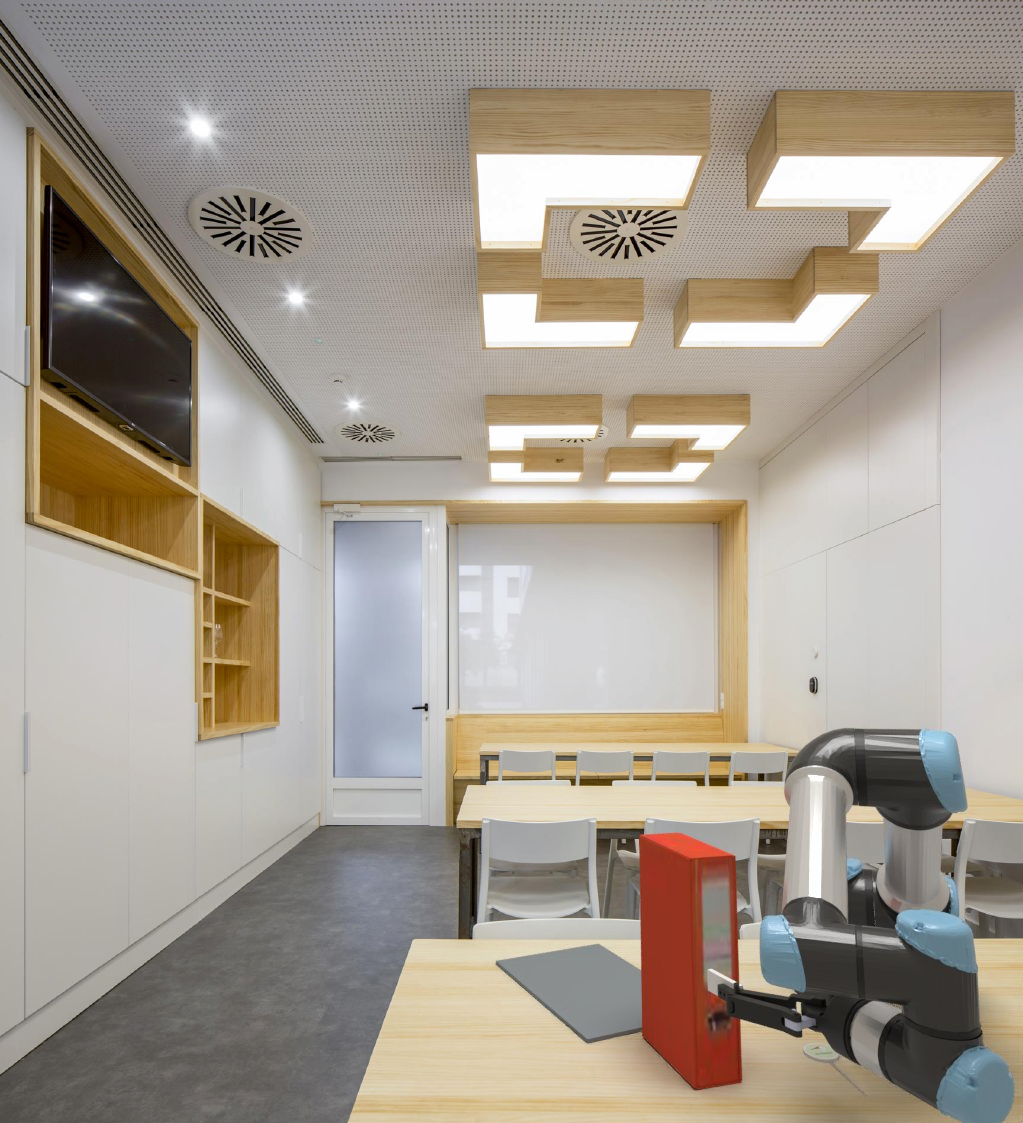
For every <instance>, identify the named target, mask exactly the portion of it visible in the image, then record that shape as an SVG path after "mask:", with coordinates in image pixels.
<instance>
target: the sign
mask: <svg viewBox="0 0 1023 1123" xmlns="http://www.w3.org/2000/svg"><path fill="white" fill-rule="evenodd" d="M802 1050H803V1054H804V1056H805V1057H807V1058H808V1059H810V1060H813V1061H815V1062H820V1063H829V1064H830V1065H831V1066H832V1067H833V1069H835V1070H836V1071H837V1072H839V1073H840V1074H841V1075H842V1076H843V1077H844V1078H845V1079H846V1080H847V1081H848V1082H849V1083H850V1084H852V1085H853V1086H854V1087H855V1088H856V1089H857V1090H858V1091H859V1092H860V1093H861V1094H862V1095H864V1097H867V1096H868V1095H867V1094H866V1093H865V1092H864V1091H863V1090H861V1088H859V1086H857V1085H856V1083H854V1082H853V1081H852V1080H851V1079H850V1078H849V1077H848V1076H847V1075H846V1074H845V1073H844V1072H843V1071H842V1070H841V1069H840V1068H838V1066H837V1065H836V1064H835V1063H834V1062H837V1061H838V1060H839V1059H840V1054H838V1053H836V1052H835V1051H834V1050H833V1049H832V1048H831V1046H830V1045H829V1044H827V1043H821V1042H812V1043H811V1042H810V1043H807V1044H805V1045H804V1046H803V1048H802Z"/></svg>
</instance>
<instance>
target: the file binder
mask: <svg viewBox="0 0 1023 1123" xmlns="http://www.w3.org/2000/svg"><path fill="white" fill-rule="evenodd" d="M638 839H639V841H638V850H639V855H638V856H639V910H640V911H639V915H640V918H639V919H640V920H639V921H640V970H641V991H642V1031H641V1036H642V1037H643V1038H644V1040H646V1041H647V1042H648V1043H649V1044H650V1045H651V1046H652V1047H653V1048H654V1049H655V1051H657V1052H658V1053H659V1054H660V1055H661V1056H662V1057H663V1058H664V1060H666V1061H667V1062H668V1063H669V1064H670V1066H672V1067H673V1069H675V1070H676V1072H678V1073H679V1075H680V1076H681V1077H683V1079H684V1080H685V1081H686V1082H687V1083H688V1084H690V1086H691V1087H692V1088H693V1089H696V1090H697V1091H698V1090H703V1089H710V1088H711V1089H712V1088H716V1087H721V1086H722V1087H723V1086H728V1085H736V1084H742V1081H743V1068H742V1067H743V1066H742V1064H743V1063H742V1062H743V1061H742V1058H743V1057H742V1032H741V1031H742V1030H741V1029H742V1027H741V1019H738V1018H734V1017H731V1016H728V1015H727V1013H726V1001H724V1000H723V999H721V998H719V997H718V996H717V995H715V994H713V993H712V992H710V991H708V978H707V970H708V969H713V970H715V971H717V972H719V973H721V974H722V975H724V976H726V977H728V978H730V979H732V980H734V981H736V982H739V983H740V967H739V966H740V961H739V956H740V955H739V932H738V931H739V928H738V926H739V925H738V924H739V923H738V922H739V921H738V897H737V896H738V893H737V860H736V858H737V855H735V854H732V853H730V852H727V851H725V850H723V849H720V848H718V847H716V846H713V845H710V844H708V843H706V842H704V841H701V840H698V839H697V838H694V837H691V836H689V835H686V834H685V833H682V832H666V833H665V832H663V833H662V832H661V833H649V834H646V833H645V834H639V836H638Z"/></svg>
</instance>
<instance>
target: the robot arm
mask: <svg viewBox="0 0 1023 1123" xmlns="http://www.w3.org/2000/svg"><path fill="white" fill-rule="evenodd" d="M961 762H962V761H961V756H960V748H959V745H958V742H957V738H956V737H955V736H954V734H952V733H951V732H948V731H945V730H934V729H933V730H932V729H929V728H917V729H916V728H915V729H914V728H912V729H910V728H855V727H843V728H837V729H832V730H830V731H827V732H824V733H822V734H820V735H819V736H817V737H815V738H813V739H811V740H810V742H808V743H806V744H805V745H804V746H803V748H801V749H800V750H799V751H798V752H797V754H796V755H795V757H793V760H792V761H791V762H790V764H789V766H788V768H787V771H786V773H785V778H784V787H783V794H784V798H785V801H786V803H787V804H788V806H789V815H788V829H787V841H786V852H785V864H784V867H785V868H784V877H783V891H782V905H781V914H777V915H765V916H764V917H763V918H762V920H761V923H760V928H759V963H760V971H761V975H762V977H763V979H764V980H765V982H766V983H768V984H769V985H771V986H775V987H779V988H784V989H788V990H793V991H795V992H796V993H791V994H790V995H788V996H786V995H781V994H775V993H768V992H762V991H756V990H749V989H744V985H743V984H741V983H740V981H739V982H736V981H734V980H732V979H730V978H728V977H726V976H724V975H722V974H721V973H719V972H717V971H715V970H713V969H708V970H707V978H708V991H710V992H712V993H713V994H715V995H717V996H718V997H719V998H721V999H723V1000H724V1001H726V1013H727V1015H728V1016H731V1017H734V1018H738V1019H740V1021H745V1022H749V1023H752V1024H755V1025H760V1026H762V1027H766V1028H769V1029H773V1030H776V1031H780V1032H783V1033H785V1034H787V1035H790V1036H791V1037H794V1038H795V1039H798V1038H799V1039H800V1038H803V1030H805V1029H809V1030H810V1031H813V1032H815V1033H819V1034H820V1033H821V1034H822V1035H823V1037H824V1038H825V1040H826V1041H827V1043H828V1045H829V1046H831V1048H832V1049H833V1050H834V1051H835V1052H836V1053H838V1054H839V1056H841V1057H843V1058H845V1059H847V1060H849V1061H851V1062H852V1063H854V1064H856V1065H857V1066H861V1067H863V1068H864V1069H866V1070H868V1071H870V1072H871V1073H873V1074H874V1075H877V1076H878V1077H881V1078H882V1079H884V1080H886V1081H888V1082H889V1083H890V1085H892V1086H894V1087H895V1086H896V1087H898V1088H899V1089H901V1090H903V1091H905V1092H906V1093H909V1094H910V1095H912V1096H913V1097H915V1098H917V1099H918V1100H920V1101H922V1102H924V1103H926V1104H927V1105H929V1106H931V1107H933V1108H934V1109H937V1111H939V1112H940V1113H941V1114H942V1115H944V1116H946V1117H950V1118H952V1119H954V1120H956V1121H958V1122H960V1123H1004V1122H1005V1120H1006V1119H1007V1117H1008V1116H1009V1114H1010V1113H1011V1110H1012V1107H1013V1104H1014V1099H1015V1091H1016V1090H1015V1082H1014V1076H1013V1074H1012V1073H1011V1071H1010V1068H1009V1065H1008V1063H1007V1062H1006V1061H1005V1060H1004V1058H1003V1057H1001V1056H1000V1055H999V1054H997V1053H996V1052H995V1051H993V1050H992V1049H990V1048H988V1047H987V1046H986V1047H985V1043H984V1035H983V1034H984V1032H983V1030H982V1025H981V1023H982V1022H981V1011H980V997H979V996H980V993H979V976H978V975H979V966H978V964H977V958H976V957H977V956H976V949H975V941H974V940H975V939H974V932H973V930H972V928H971V926H969V924H968V923H967V922H966V921H965V920H963V918H960V902H959V901H960V899H959V894H958V888H957V884H956V883H955V880H953V879H952V877H951V876H948V875H944V873H943V872H942V870H941V866H942V846H943V845H942V844H943V826H944V825H945V824H946V823H947V822H948V821H949V820H950V819H951V818H952V815H953V814H957V813H965V812H966V811H967V809H968V798H967V793H966V785H965V781H964V774H963V768H962V763H961ZM853 806H854V807H855V806H858V807H865V808H866V807H868V808H875V810H876V811H877V812H878V814H879V815H880V816H881V817H882V818H883V819H882V820H883V822H882V824H883V846H884V848H883V849H884V862H883V863H882V865H880V867H879V868H878V869H868V868H864V865H863V863H862V861H861V860H859V859H857V858H853V857H852V858H851V857H848V851H847V850H848V848H847V845H848V844H847V842H848V841H847V814H848V813H849V812H850V810H851V808H852V807H853ZM797 1003H800V1012H798V1010H797ZM891 1004H894V1005H899V1006H901V1009H900V1008H898V1007H895V1006H894V1005H891Z"/></svg>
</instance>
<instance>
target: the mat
mask: <svg viewBox="0 0 1023 1123" xmlns="http://www.w3.org/2000/svg"><path fill="white" fill-rule="evenodd" d="M495 965H497V967H499V968H500V969H501V970H502V971H503V972H504V973H506V974H507V975H508V976H509V977H510V978H511V979H512V980H514V982H516V983H518V985H519V986H520V987H522V988H523V989H524V990H525V991H526V992H527V993H528V994H530V995H531V996H532V997H533V998H535V1000H536V1001H538V1002H539V1003H540V1004H541V1005H542V1006H544V1007H545V1009H547V1010H548V1011H550V1013H552V1014H553V1015H554V1016H555V1017H556V1018H558V1019H559V1020H560V1021H561V1022H562V1023H563V1024H564V1025H565V1026H567V1027H568V1028H569V1029H570V1030H572V1032H574V1034H576V1035H577V1036H579V1037H580V1039H582V1040H583V1041H584V1042H585V1043H587V1044H589V1043H590V1044H592V1043H595V1042H599V1041H604V1040H608V1039H613V1038H616V1037H622V1036H625V1035H627V1036H628V1035H632V1034H635V1033H636V1034H637V1033H640V1032H642V991H641V968H638V967H637V966H635V965H633V964H632V963H630V962H629V961H627V960H625V959H624V958H622V957H621V956H619V955H618V954H616V953H614V952H612V951H611V950H610V949H608V948H607V947H606V946H603V945H601V944H600V943H595V944H589V945H582V946H577V947H570V948H564V949H559V950H551V951H547V952H540V953H533V954H529V955H523V956H517V957H512V958H511V957H509V958H504V959H498V960H495Z"/></svg>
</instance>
